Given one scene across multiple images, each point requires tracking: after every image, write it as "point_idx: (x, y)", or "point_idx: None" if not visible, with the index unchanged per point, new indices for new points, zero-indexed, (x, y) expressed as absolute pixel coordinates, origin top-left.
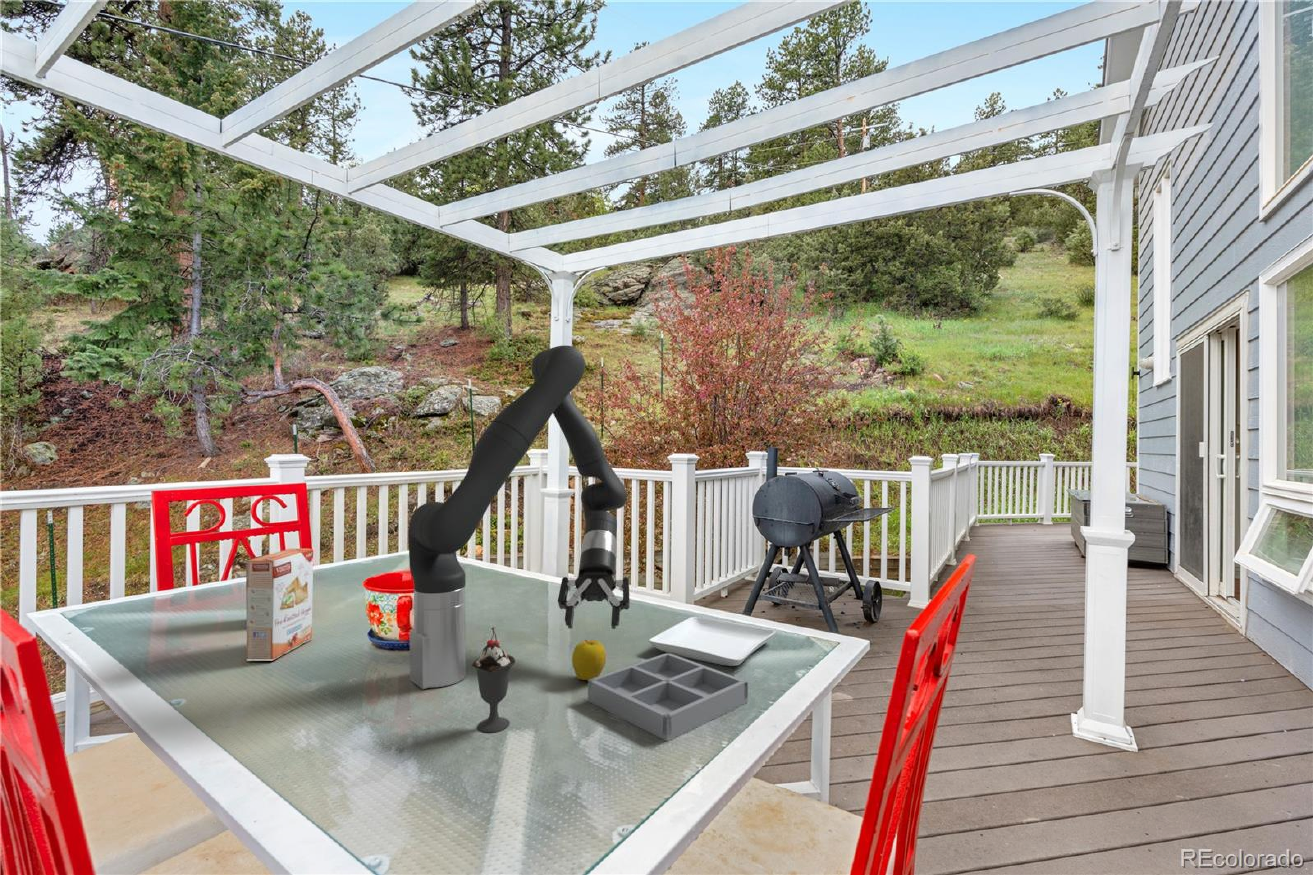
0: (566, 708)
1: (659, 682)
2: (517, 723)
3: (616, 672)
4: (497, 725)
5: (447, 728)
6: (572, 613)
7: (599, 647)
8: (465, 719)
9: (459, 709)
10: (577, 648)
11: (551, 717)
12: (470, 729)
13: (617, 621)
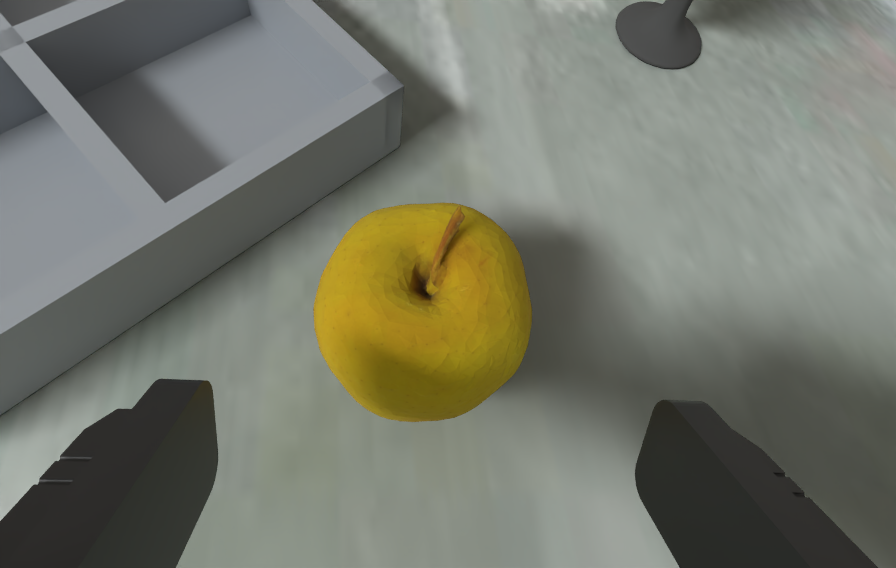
0: (471, 104)
1: (56, 28)
2: (597, 38)
3: (262, 149)
4: (644, 10)
5: (768, 38)
6: (738, 519)
7: (353, 243)
8: (751, 74)
9: (805, 130)
10: (504, 235)
11: (507, 57)
12: (707, 26)
13: (113, 420)
